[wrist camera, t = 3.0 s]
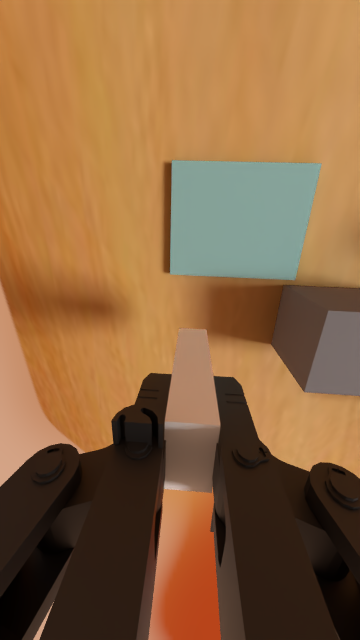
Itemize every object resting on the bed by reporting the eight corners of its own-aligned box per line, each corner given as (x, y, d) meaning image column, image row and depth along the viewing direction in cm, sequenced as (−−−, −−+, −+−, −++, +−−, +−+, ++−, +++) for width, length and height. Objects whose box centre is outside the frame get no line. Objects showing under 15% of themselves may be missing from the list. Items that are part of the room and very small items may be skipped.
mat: (172, 162, 14) (172, 160, 14) (317, 166, 14) (321, 163, 13) (170, 273, 17) (170, 274, 16) (292, 278, 16) (295, 280, 16)
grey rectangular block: (283, 284, 16) (328, 310, 11) (385, 289, 16) (486, 318, 11) (270, 343, 18) (304, 392, 13) (362, 349, 18) (438, 401, 12)
